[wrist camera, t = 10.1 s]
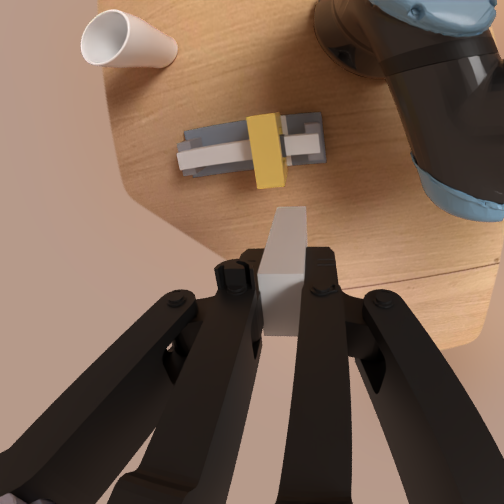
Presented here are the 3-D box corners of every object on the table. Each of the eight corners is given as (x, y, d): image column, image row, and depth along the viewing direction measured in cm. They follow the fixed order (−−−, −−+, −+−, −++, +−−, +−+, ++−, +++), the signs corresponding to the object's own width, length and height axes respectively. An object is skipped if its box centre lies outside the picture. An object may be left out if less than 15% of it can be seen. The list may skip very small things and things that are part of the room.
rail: (185, 130, 40) (165, 136, 34) (320, 111, 36) (324, 112, 30) (194, 176, 43) (176, 189, 37) (326, 161, 39) (330, 172, 33)
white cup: (192, 54, 35) (141, 36, 22) (155, 81, 37) (94, 78, 24) (170, 23, 33) (114, -3, 19) (135, 50, 35) (71, 39, 22)
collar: (256, 115, 36) (245, 117, 29) (279, 112, 35) (274, 113, 28) (265, 173, 40) (257, 189, 33) (287, 171, 39) (284, 186, 32)
